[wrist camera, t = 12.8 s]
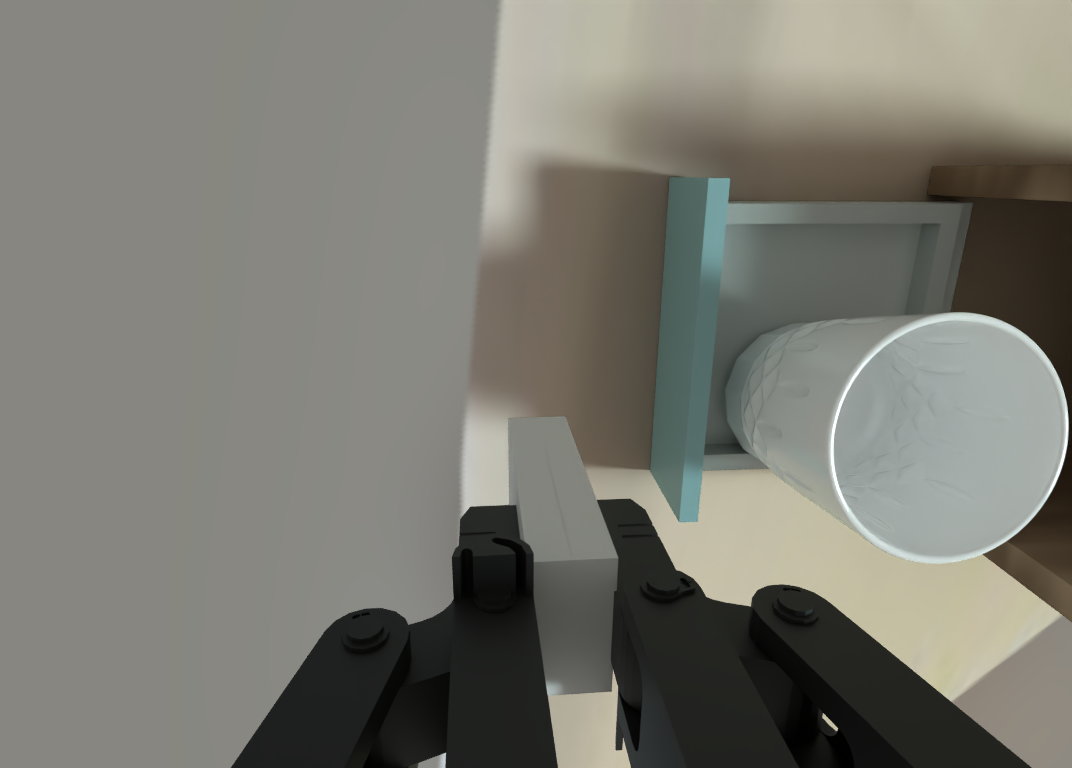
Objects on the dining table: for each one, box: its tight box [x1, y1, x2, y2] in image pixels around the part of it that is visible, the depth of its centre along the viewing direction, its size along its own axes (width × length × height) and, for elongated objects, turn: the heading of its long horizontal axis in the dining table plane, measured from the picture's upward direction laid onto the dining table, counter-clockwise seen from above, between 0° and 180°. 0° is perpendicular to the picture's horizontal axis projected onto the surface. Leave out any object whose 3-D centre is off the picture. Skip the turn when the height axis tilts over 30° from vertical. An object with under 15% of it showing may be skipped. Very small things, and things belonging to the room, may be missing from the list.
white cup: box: [725, 312, 1069, 564], centre depth 24 cm, size 8×8×10 cm
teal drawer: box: [650, 177, 973, 522], centre depth 28 cm, size 14×13×5 cm
